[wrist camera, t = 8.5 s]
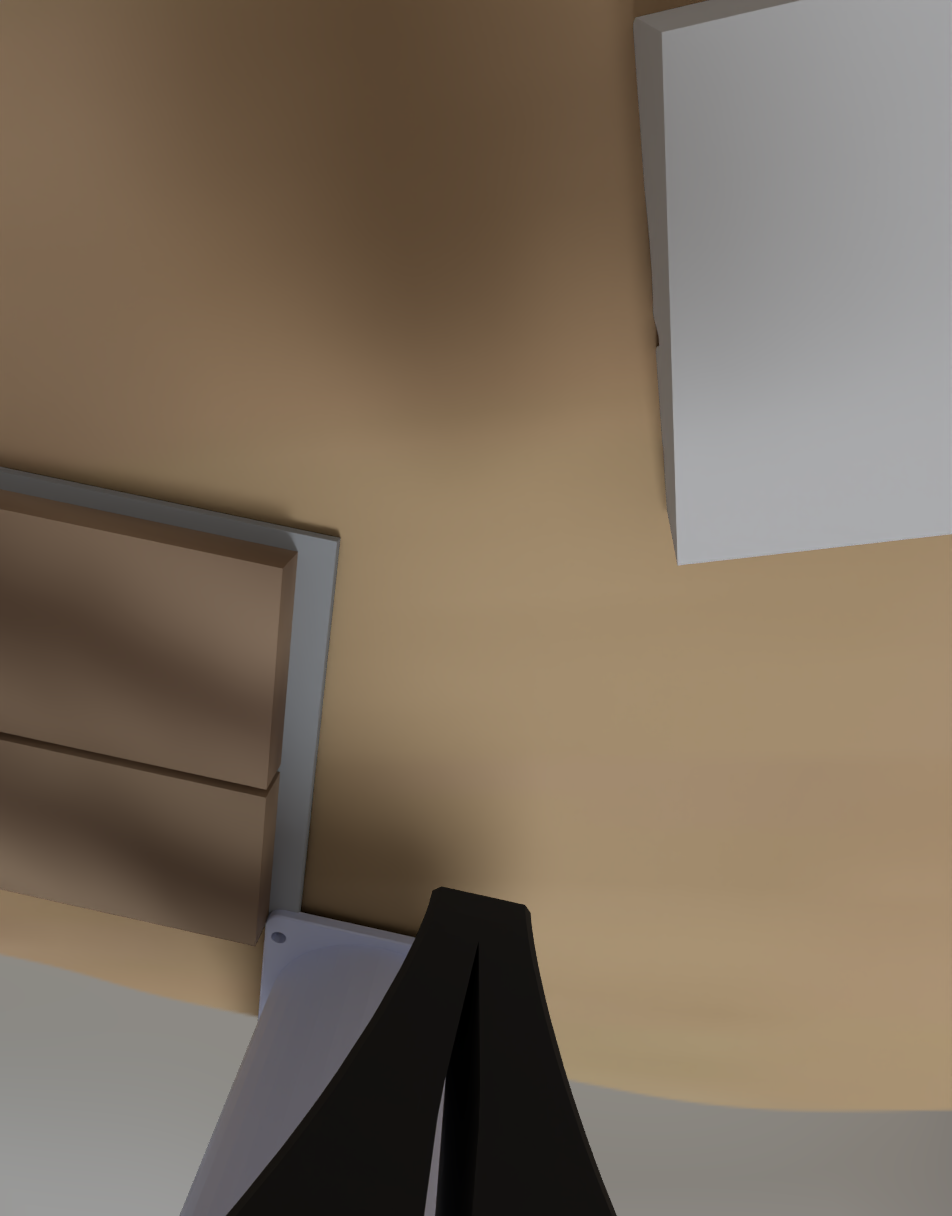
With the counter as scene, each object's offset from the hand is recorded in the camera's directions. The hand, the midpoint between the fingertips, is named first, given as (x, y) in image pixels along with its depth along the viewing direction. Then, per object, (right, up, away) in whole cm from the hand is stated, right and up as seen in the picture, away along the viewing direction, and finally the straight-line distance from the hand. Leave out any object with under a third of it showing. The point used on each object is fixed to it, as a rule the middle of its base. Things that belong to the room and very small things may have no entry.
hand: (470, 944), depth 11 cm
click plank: (-12, +5, +11) cm, 17 cm away
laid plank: (-13, -1, +13) cm, 19 cm away
